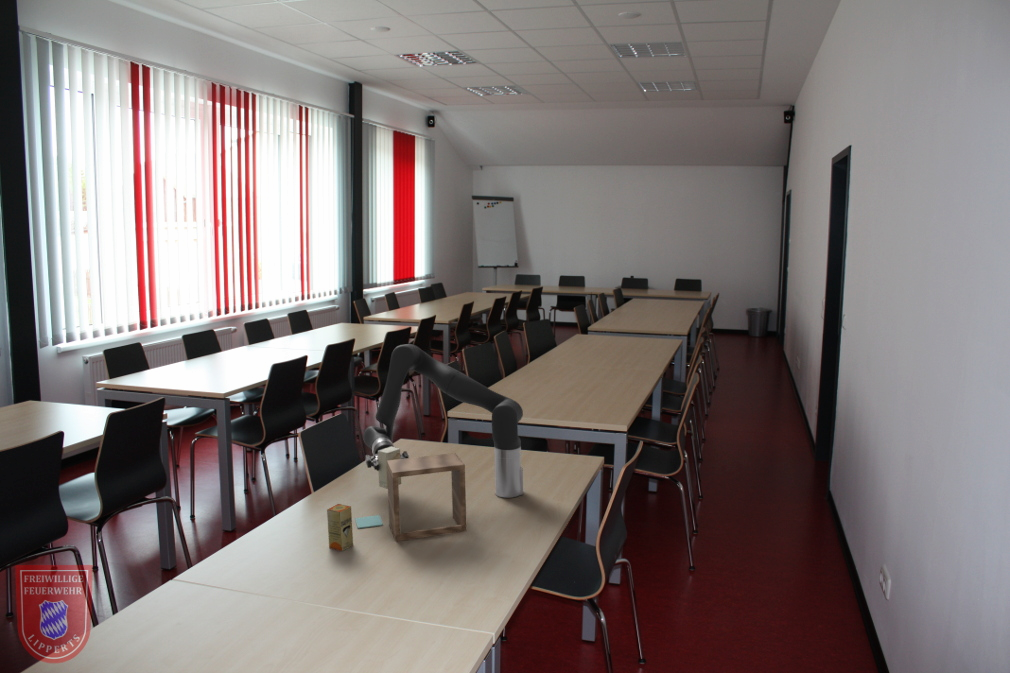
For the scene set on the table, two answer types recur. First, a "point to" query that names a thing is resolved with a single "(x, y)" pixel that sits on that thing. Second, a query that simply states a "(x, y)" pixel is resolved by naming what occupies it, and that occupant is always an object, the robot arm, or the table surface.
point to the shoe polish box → (340, 527)
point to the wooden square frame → (426, 467)
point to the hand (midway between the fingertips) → (390, 466)
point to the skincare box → (383, 457)
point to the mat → (368, 521)
